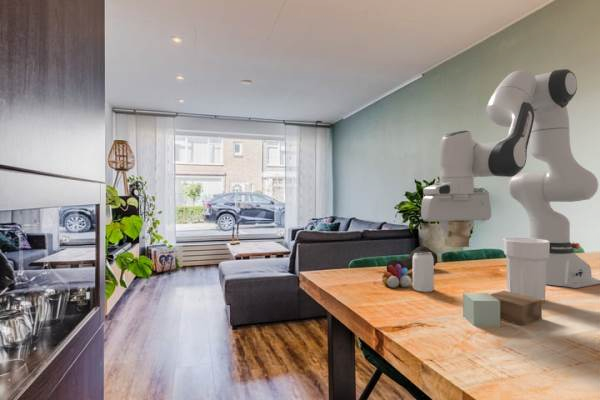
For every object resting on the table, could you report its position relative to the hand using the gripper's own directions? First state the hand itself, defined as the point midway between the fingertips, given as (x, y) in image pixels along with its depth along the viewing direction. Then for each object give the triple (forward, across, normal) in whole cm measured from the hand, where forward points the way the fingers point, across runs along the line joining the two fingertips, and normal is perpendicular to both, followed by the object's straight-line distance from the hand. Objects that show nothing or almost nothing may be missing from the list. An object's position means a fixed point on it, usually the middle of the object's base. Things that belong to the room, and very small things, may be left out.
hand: (456, 236), depth 94 cm
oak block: (+3, 0, 0) cm, 3 cm away
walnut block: (+19, -7, +12) cm, 24 cm away
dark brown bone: (+19, -7, -37) cm, 42 cm away
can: (+19, +2, -14) cm, 24 cm away
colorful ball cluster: (+19, +8, -21) cm, 29 cm away
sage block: (+19, +3, +14) cm, 24 cm away
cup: (+19, -22, +1) cm, 29 cm away
